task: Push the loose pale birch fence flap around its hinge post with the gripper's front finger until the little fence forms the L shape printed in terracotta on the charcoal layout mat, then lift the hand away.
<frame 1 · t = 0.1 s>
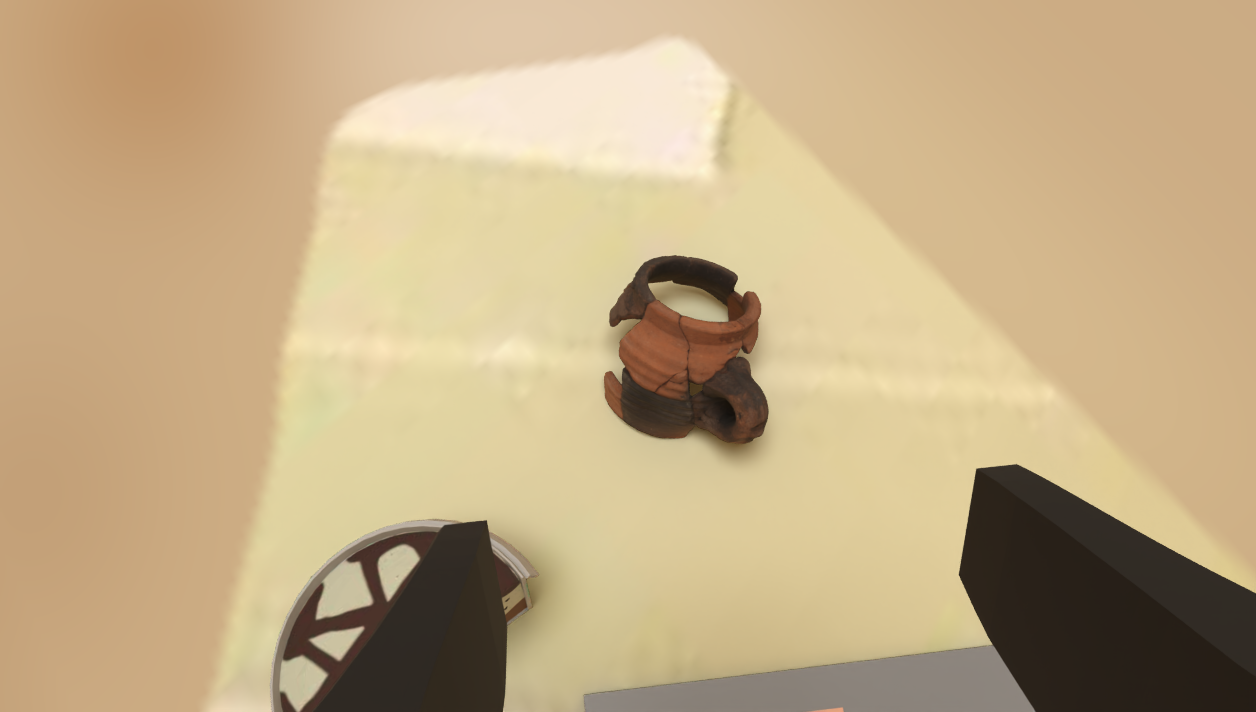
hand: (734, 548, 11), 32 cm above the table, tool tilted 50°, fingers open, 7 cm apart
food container: (430, 612, 42), on the table
pottery mug: (687, 378, 47), on the table
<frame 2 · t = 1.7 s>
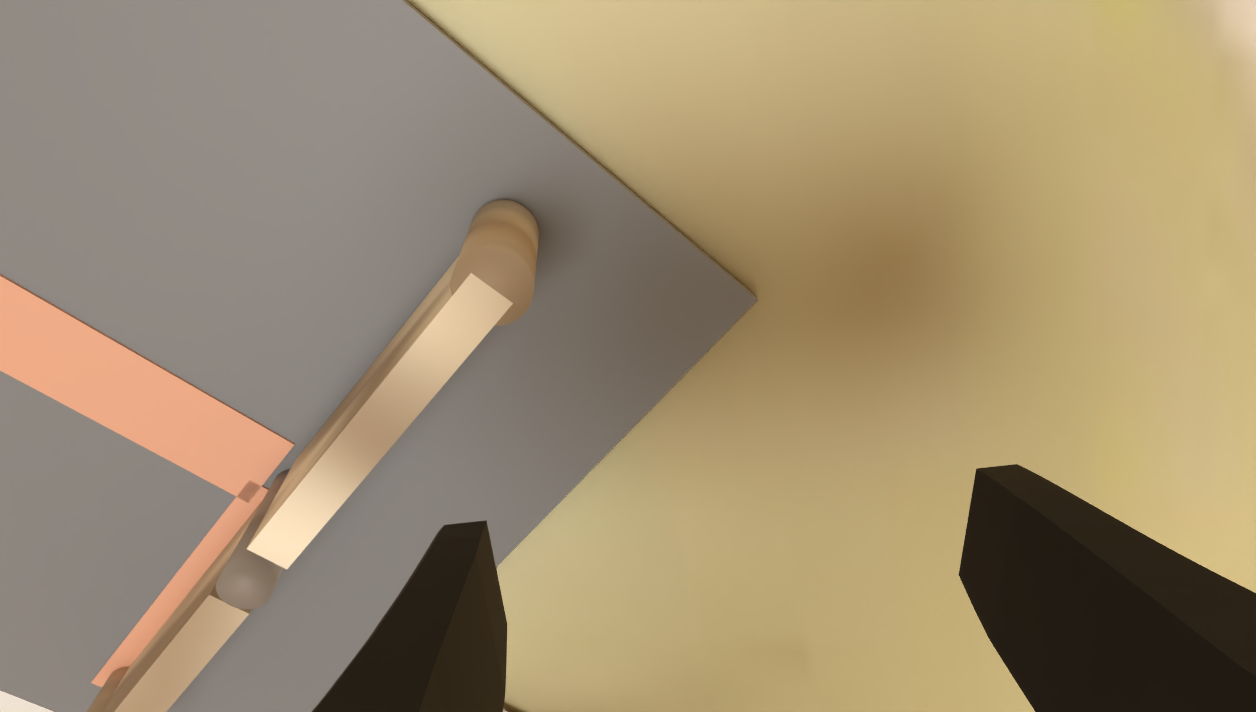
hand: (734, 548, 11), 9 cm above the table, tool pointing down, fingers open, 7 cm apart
fence flap: (397, 381, 17), point 2 cm above the table, hinge at 0.0°
layout mat: (199, 421, 20), on the table
fixed fence section: (296, 486, 21), resting on layout mat
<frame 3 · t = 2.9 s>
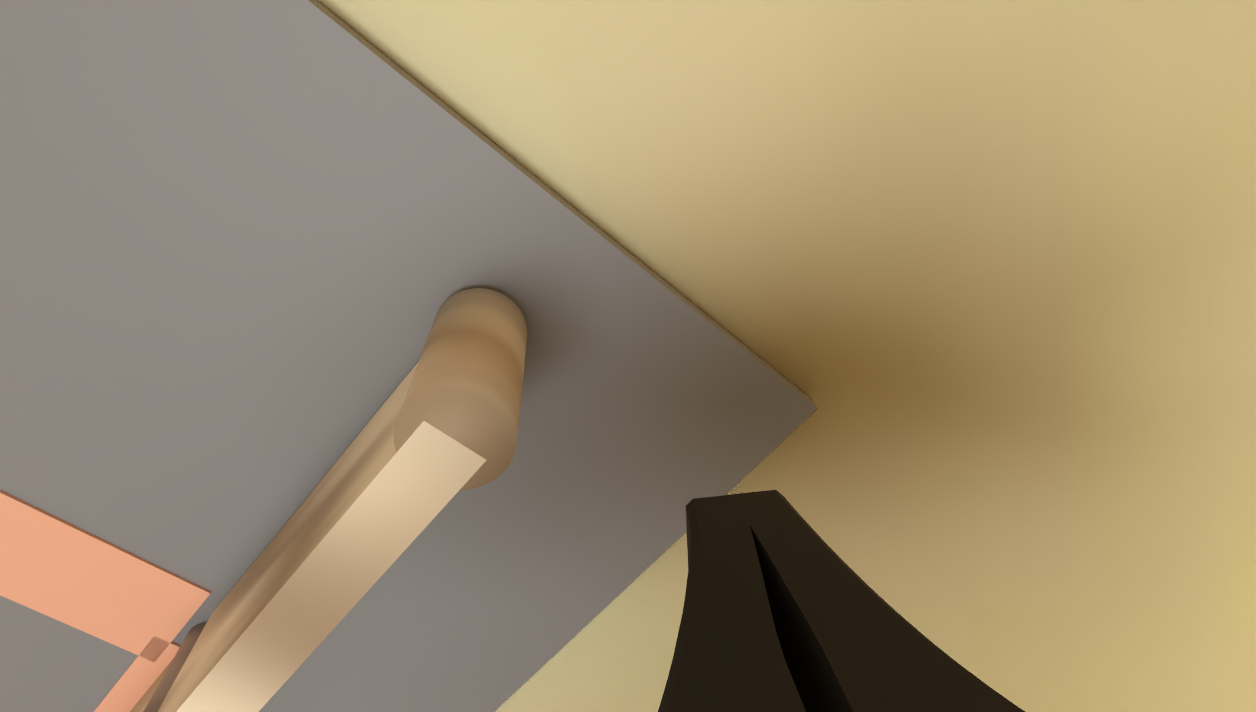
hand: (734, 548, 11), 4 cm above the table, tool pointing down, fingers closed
fence flap: (334, 537, 13), point 2 cm above the table, hinge at 0.0°
layout mat: (86, 563, 15), on the table
fixed fence section: (217, 642, 16), resting on layout mat
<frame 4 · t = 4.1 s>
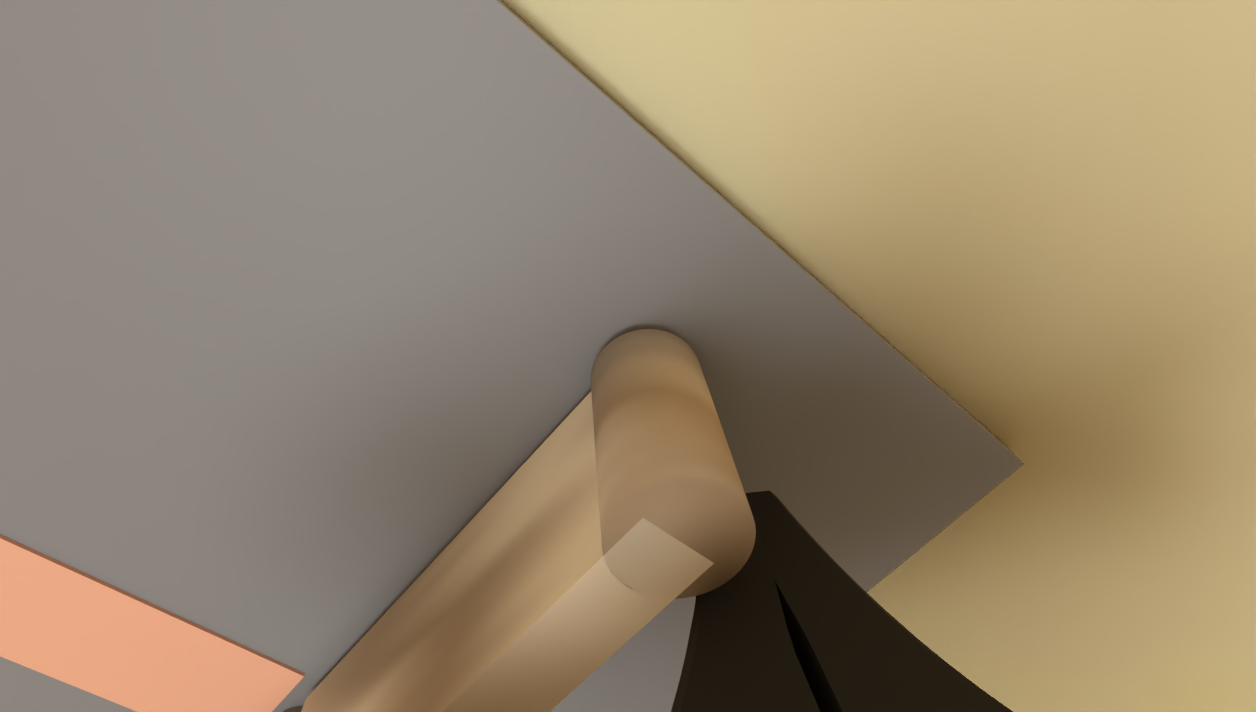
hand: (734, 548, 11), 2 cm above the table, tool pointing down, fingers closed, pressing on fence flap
fence flap: (476, 630, 11), point 2 cm above the table, hinge at 0.0°, touching gripper
layout mat: (159, 641, 13), on the table
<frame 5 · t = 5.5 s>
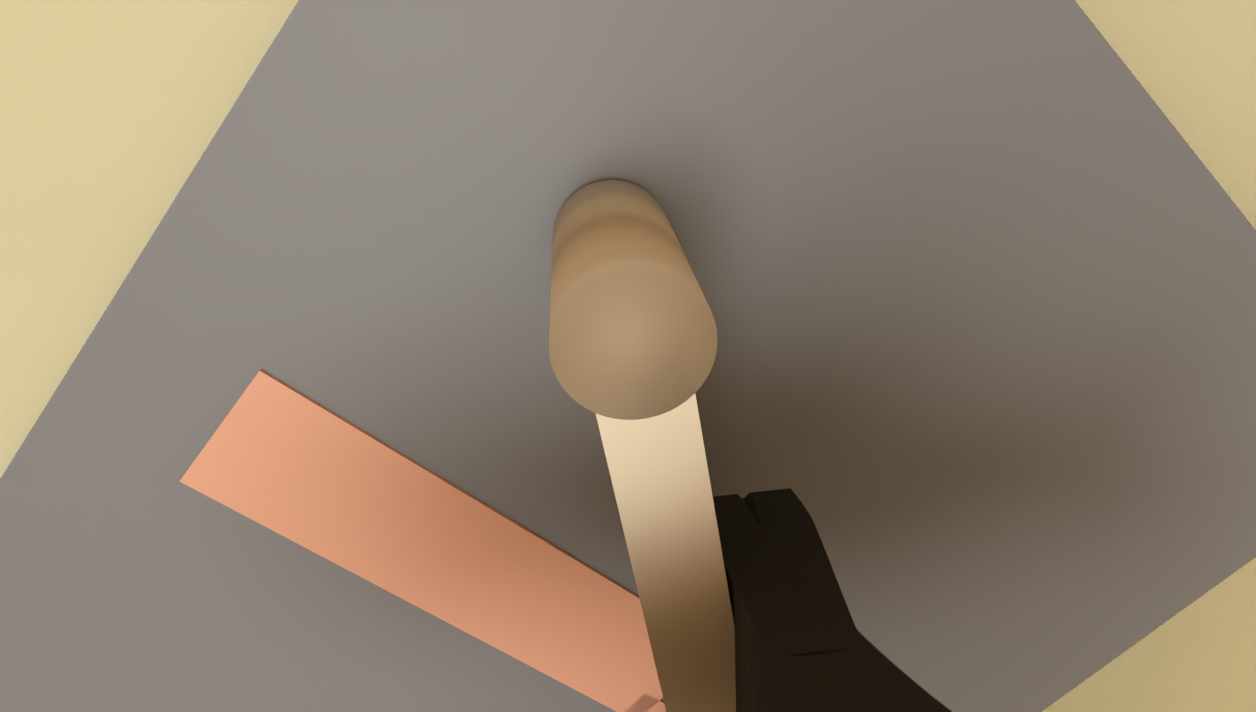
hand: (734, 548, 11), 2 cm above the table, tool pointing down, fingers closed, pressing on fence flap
fence flap: (673, 541, 10), point 2 cm above the table, hinge at 51.1°, touching gripper
layout mat: (583, 613, 14), on the table
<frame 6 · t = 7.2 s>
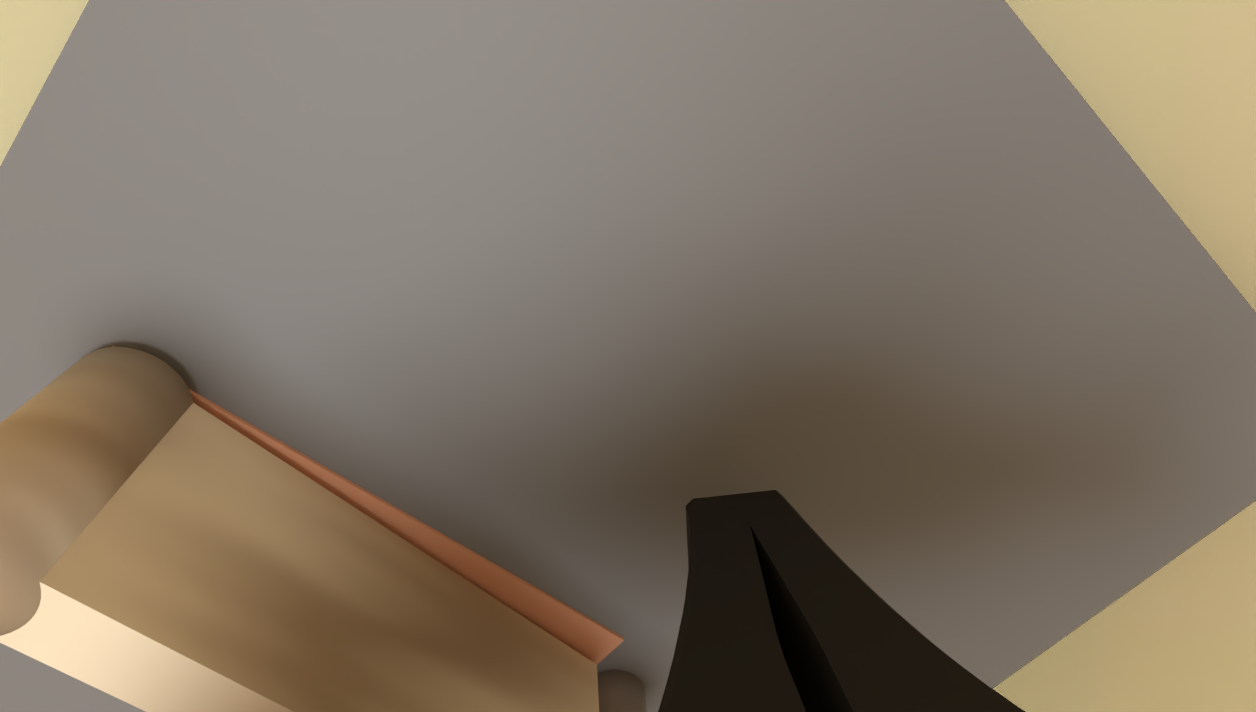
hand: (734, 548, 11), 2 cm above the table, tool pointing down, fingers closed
fence flap: (332, 630, 10), point 2 cm above the table, hinge at 85.5°
layout mat: (482, 605, 13), on the table
fixed fence section: (612, 693, 14), resting on layout mat
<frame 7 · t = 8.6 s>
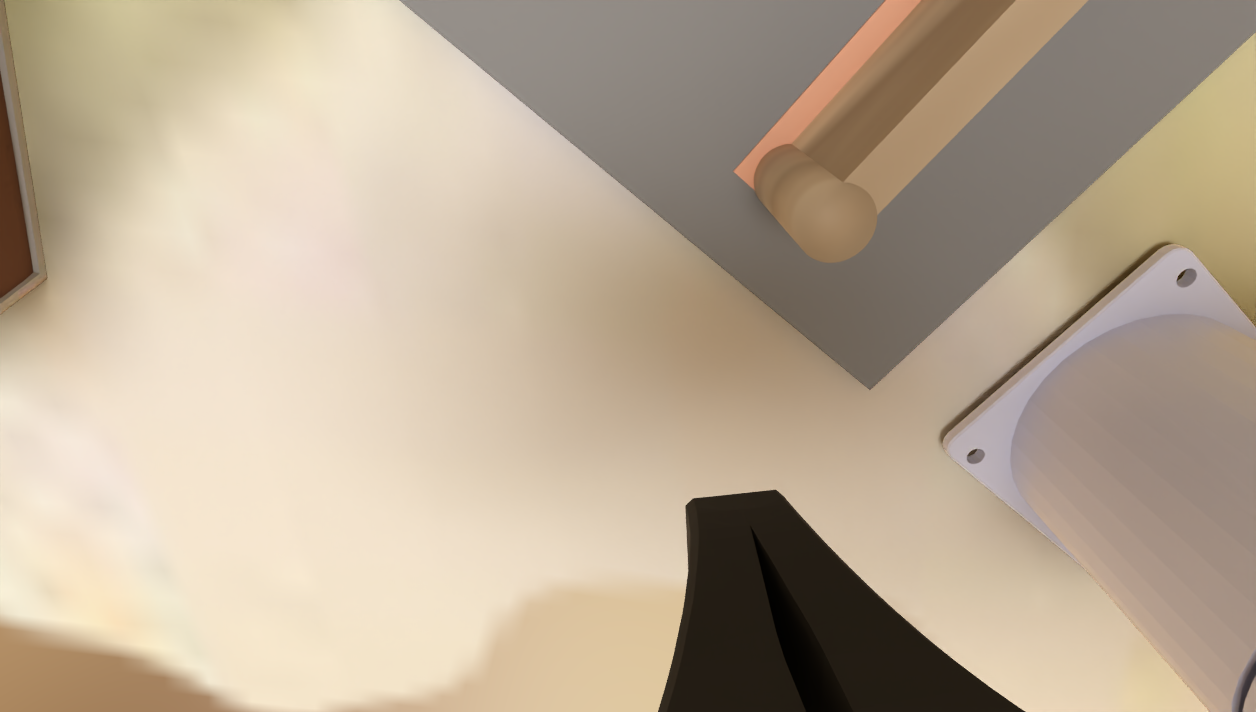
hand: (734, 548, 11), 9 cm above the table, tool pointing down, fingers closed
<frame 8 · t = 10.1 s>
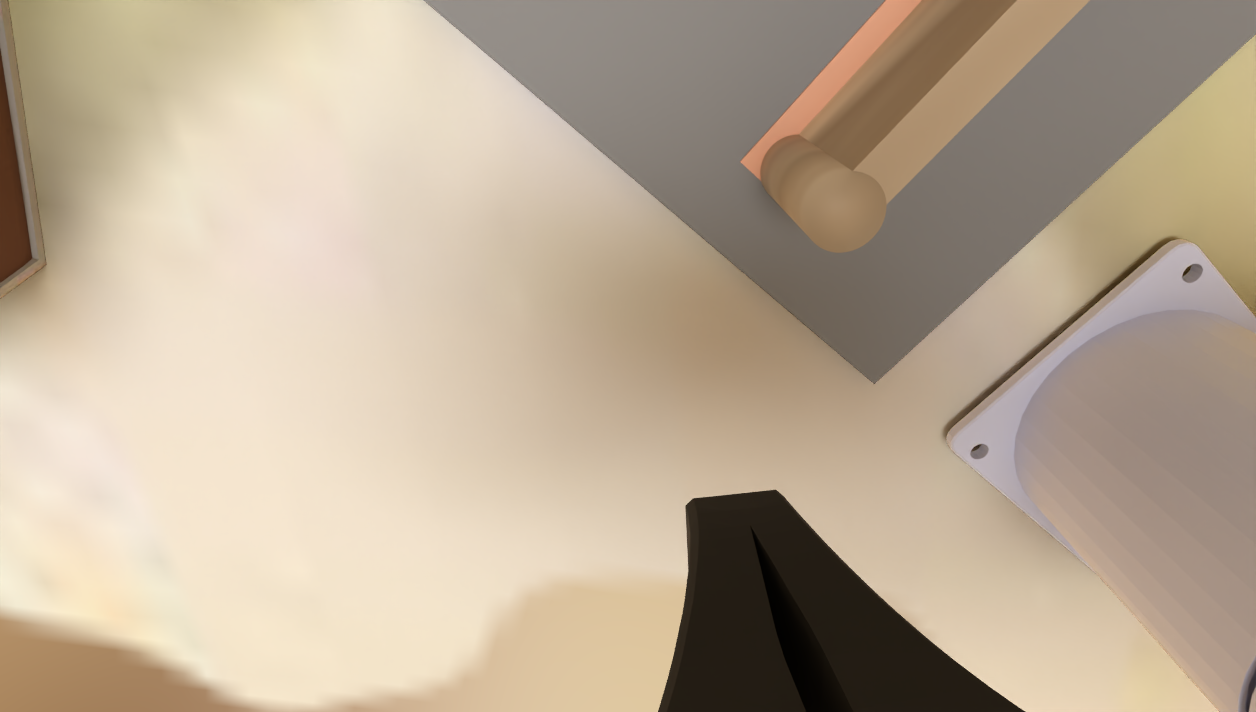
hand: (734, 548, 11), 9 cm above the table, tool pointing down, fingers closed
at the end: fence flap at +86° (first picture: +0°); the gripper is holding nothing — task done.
